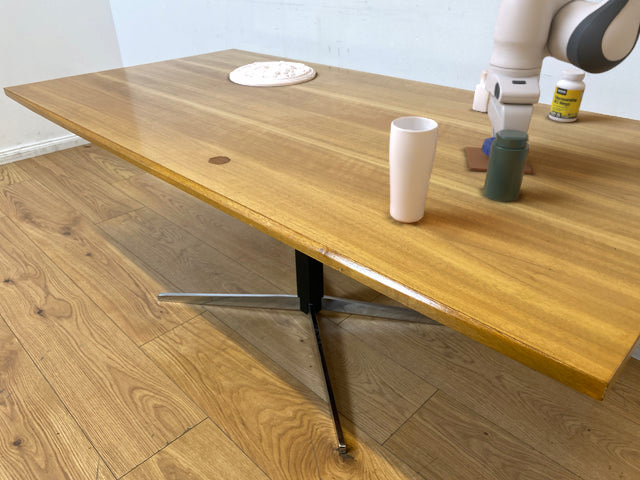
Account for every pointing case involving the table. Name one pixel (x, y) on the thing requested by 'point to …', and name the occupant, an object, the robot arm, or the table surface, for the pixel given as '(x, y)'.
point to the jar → (506, 165)
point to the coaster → (483, 160)
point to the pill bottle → (568, 96)
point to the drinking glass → (411, 166)
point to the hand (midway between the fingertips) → (498, 153)
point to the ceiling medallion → (272, 74)
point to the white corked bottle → (481, 95)
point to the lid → (487, 145)
